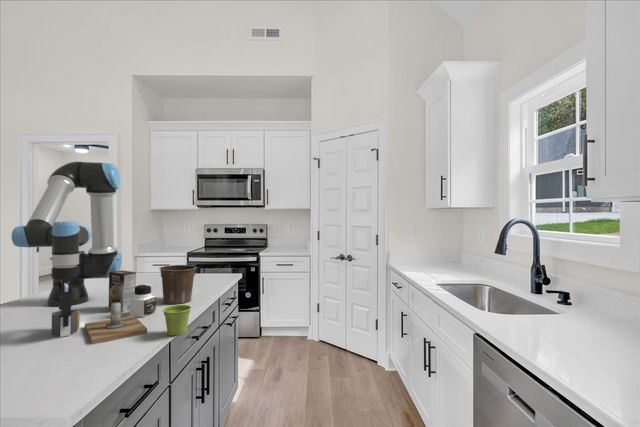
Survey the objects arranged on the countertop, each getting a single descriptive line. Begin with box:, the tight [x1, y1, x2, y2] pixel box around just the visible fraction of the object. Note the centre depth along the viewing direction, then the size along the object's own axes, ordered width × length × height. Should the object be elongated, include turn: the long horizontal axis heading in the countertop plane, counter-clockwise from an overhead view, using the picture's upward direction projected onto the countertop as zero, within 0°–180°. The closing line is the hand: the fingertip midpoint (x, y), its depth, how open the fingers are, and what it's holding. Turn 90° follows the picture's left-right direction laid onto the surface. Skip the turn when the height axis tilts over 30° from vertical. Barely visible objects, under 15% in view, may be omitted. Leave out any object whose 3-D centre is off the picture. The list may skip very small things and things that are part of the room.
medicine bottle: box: [128, 284, 157, 318], centre depth 139 cm, size 7×7×12 cm
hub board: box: [84, 302, 148, 345], centre depth 120 cm, size 20×16×10 cm
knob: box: [51, 309, 80, 337], centre depth 117 cm, size 7×8×7 cm
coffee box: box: [108, 269, 137, 313], centre depth 147 cm, size 9×6×16 cm
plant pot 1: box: [159, 264, 198, 305], centre depth 161 cm, size 16×16×16 cm
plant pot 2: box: [161, 304, 193, 337], centre depth 118 cm, size 9×9×9 cm
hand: (64, 331), depth 117 cm, fingers open, 8 cm apart
